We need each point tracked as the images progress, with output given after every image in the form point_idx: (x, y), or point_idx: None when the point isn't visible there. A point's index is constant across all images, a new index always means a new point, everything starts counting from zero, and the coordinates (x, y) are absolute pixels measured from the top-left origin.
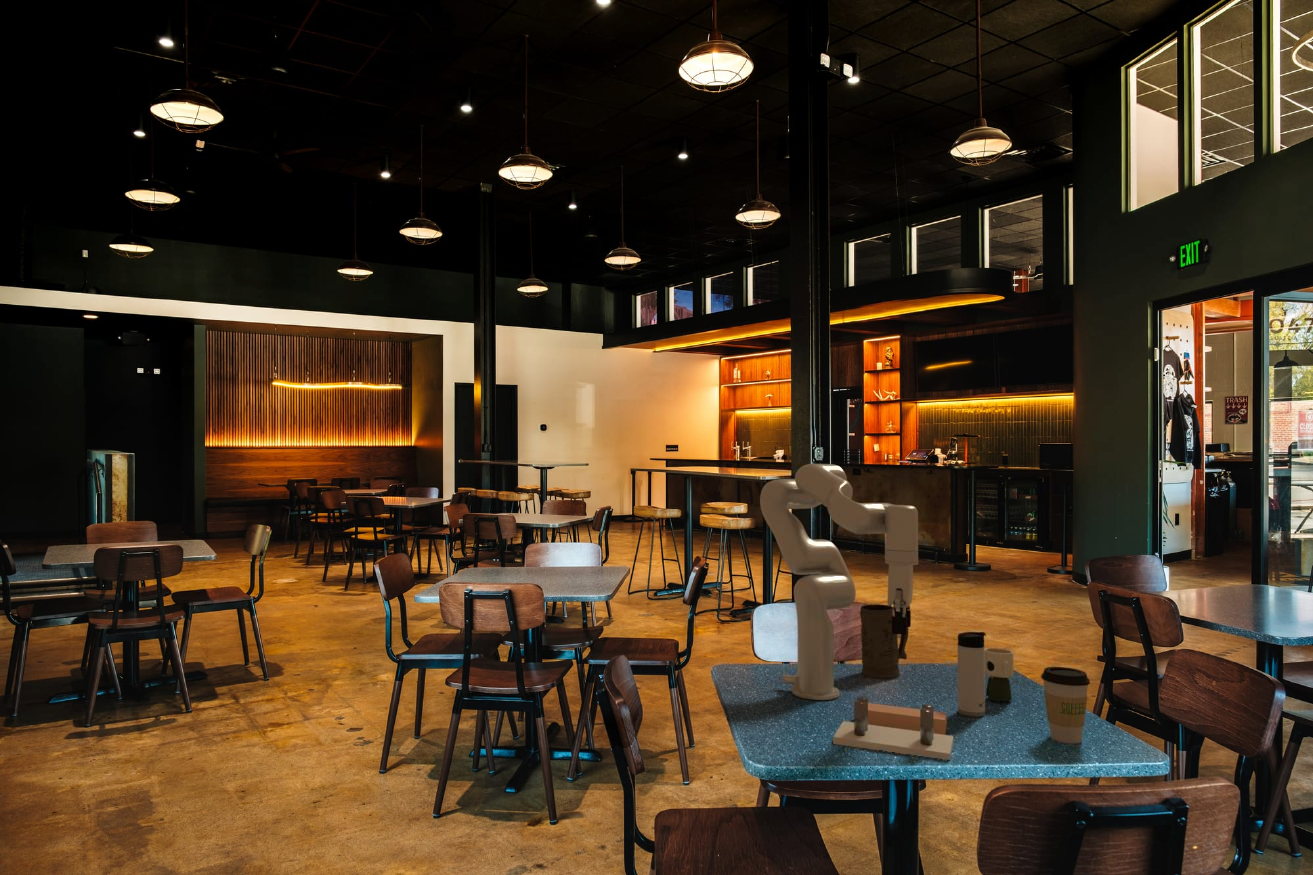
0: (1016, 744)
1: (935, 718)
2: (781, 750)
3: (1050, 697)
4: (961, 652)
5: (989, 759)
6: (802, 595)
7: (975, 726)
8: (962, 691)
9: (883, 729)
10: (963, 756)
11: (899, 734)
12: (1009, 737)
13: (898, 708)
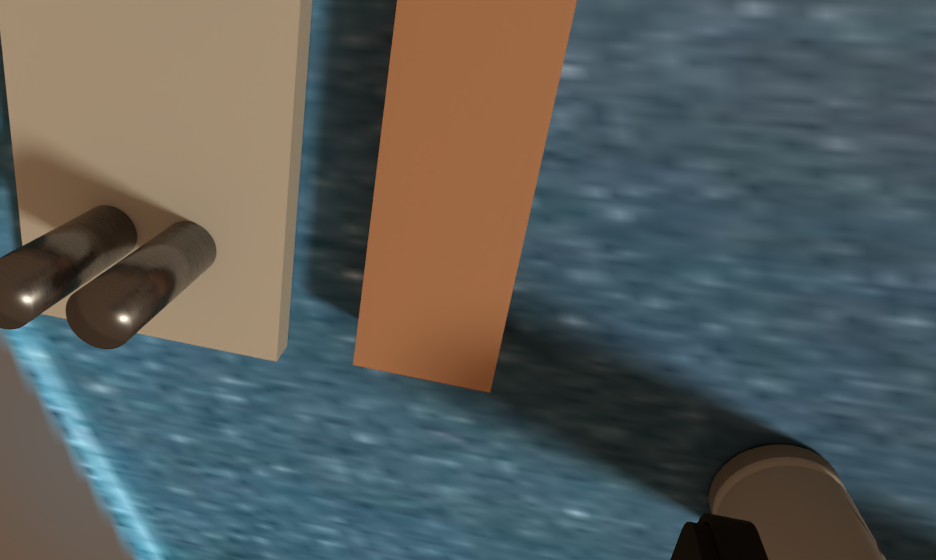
0: (360, 556)
1: (366, 325)
2: None
3: None
4: None
5: (143, 436)
6: None
7: (559, 469)
8: (770, 539)
9: (245, 27)
10: (132, 355)
11: (194, 113)
12: (441, 554)
13: (504, 144)
